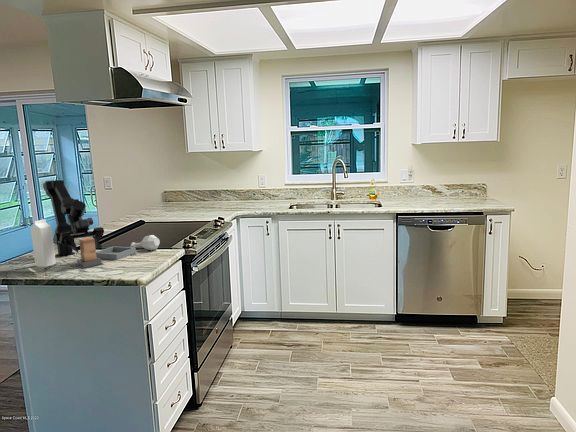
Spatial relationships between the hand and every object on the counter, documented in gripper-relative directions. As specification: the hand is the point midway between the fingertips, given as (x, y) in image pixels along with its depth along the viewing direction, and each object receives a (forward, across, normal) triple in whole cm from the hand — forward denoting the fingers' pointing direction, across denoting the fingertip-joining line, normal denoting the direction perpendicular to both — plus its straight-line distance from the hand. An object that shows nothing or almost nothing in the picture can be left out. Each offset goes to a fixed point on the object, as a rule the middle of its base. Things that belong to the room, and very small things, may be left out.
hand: (88, 249), depth 197 cm
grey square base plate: (+5, 0, +6) cm, 8 cm away
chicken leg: (-3, +32, +14) cm, 35 cm away
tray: (0, +15, +11) cm, 19 cm away
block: (+5, 0, +5) cm, 7 cm away
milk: (-6, -14, +18) cm, 23 cm away
